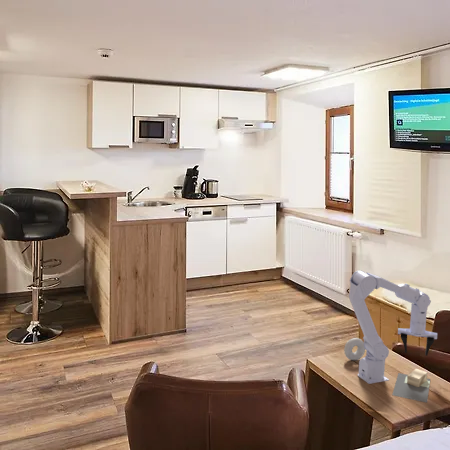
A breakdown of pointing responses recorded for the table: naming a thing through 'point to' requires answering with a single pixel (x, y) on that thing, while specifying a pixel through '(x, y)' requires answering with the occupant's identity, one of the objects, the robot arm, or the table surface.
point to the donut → (349, 347)
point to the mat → (411, 389)
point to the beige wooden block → (417, 377)
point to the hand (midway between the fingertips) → (416, 353)
